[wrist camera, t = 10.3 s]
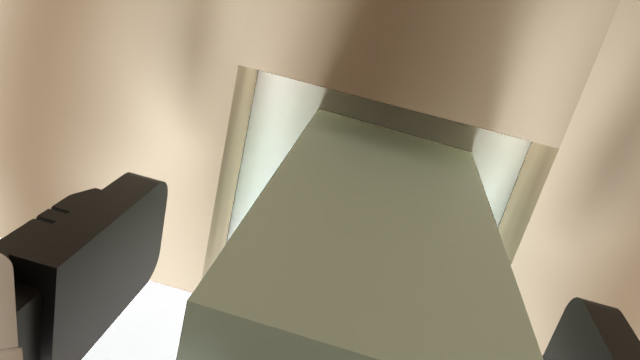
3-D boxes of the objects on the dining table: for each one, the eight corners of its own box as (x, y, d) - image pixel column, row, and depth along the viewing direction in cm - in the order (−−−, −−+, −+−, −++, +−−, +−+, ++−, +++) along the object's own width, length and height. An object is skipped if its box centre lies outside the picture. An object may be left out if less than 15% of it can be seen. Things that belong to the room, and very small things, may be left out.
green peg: (471, 152, 14) (563, 416, 6) (421, 284, 15) (436, 649, 7) (318, 108, 14) (186, 301, 6) (284, 242, 16) (139, 550, 7)
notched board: (1110, -185, 10) (1270, -222, 8) (728, 401, 15) (772, 460, 13) (-19, -425, 11) (-103, -504, 9) (-18, 189, 16) (-72, 216, 15)
